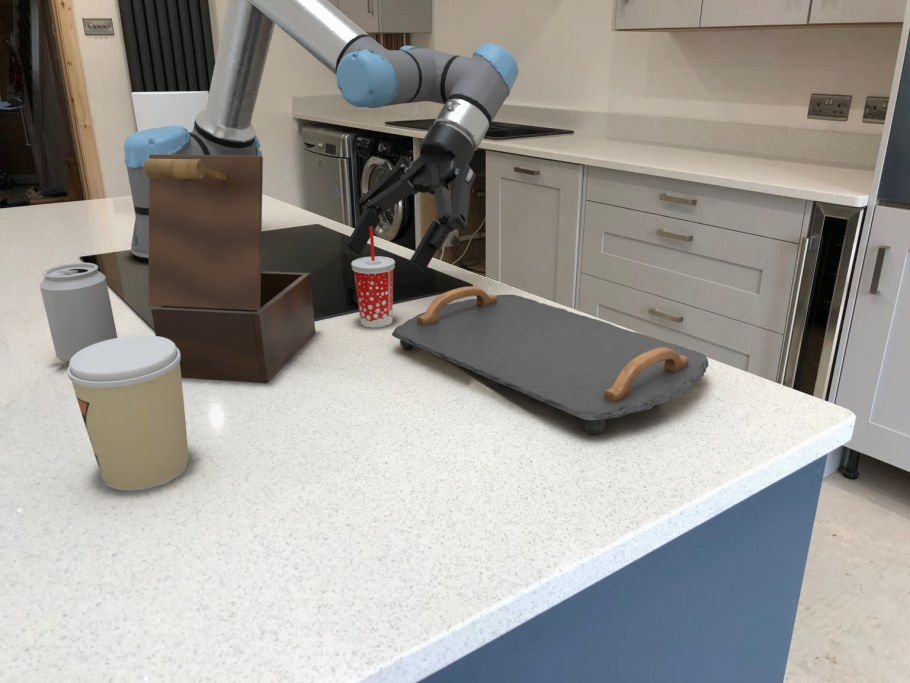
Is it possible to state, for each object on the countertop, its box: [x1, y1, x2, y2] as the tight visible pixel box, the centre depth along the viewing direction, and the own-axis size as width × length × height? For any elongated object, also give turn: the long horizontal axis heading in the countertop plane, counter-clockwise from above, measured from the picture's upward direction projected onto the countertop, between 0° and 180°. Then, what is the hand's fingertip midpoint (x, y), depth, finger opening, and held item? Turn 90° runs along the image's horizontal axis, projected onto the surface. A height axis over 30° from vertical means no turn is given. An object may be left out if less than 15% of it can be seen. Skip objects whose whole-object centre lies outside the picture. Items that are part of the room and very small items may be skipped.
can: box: [39, 262, 119, 365], centre depth 94 cm, size 8×8×12 cm
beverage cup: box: [350, 227, 396, 328], centre depth 104 cm, size 6×6×14 cm
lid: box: [144, 154, 264, 311], centre depth 81 cm, size 17×14×8 cm
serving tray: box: [391, 286, 709, 436], centre depth 90 cm, size 39×23×6 cm, turn 42°
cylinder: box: [130, 90, 209, 132], centre depth 175 cm, size 17×17×28 cm
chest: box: [150, 270, 317, 385], centre depth 94 cm, size 17×14×9 cm
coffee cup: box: [67, 334, 189, 492], centre depth 68 cm, size 9×9×12 cm
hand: (383, 257), depth 104 cm, fingers open, 13 cm apart
